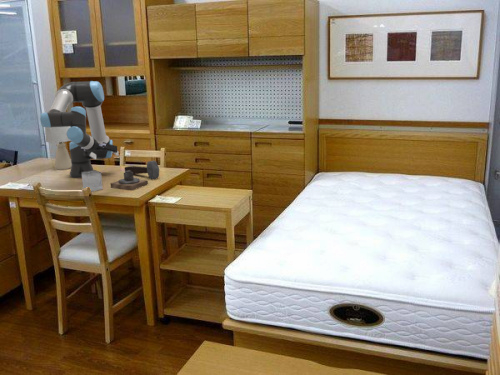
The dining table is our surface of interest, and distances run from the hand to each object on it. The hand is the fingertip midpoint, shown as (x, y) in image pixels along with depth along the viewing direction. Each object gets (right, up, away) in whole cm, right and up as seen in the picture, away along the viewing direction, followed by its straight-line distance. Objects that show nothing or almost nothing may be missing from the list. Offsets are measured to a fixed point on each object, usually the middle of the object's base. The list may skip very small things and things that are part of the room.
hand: (106, 155), depth 283 cm
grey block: (-8, -19, +2) cm, 21 cm away
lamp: (-48, -5, +61) cm, 78 cm away
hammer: (+13, -11, +31) cm, 36 cm away
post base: (+11, -17, +7) cm, 22 cm away
